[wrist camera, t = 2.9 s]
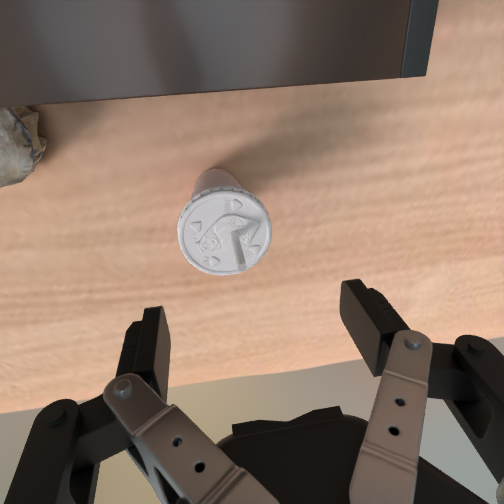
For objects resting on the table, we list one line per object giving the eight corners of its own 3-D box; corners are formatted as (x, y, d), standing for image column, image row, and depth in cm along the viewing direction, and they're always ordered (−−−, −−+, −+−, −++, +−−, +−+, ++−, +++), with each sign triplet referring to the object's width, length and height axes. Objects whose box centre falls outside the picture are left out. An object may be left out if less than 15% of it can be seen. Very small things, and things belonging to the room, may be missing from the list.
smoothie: (260, 205, 33) (301, 292, 21) (198, 231, 34) (203, 330, 21) (236, 141, 30) (267, 199, 18) (167, 169, 30) (152, 246, 18)
